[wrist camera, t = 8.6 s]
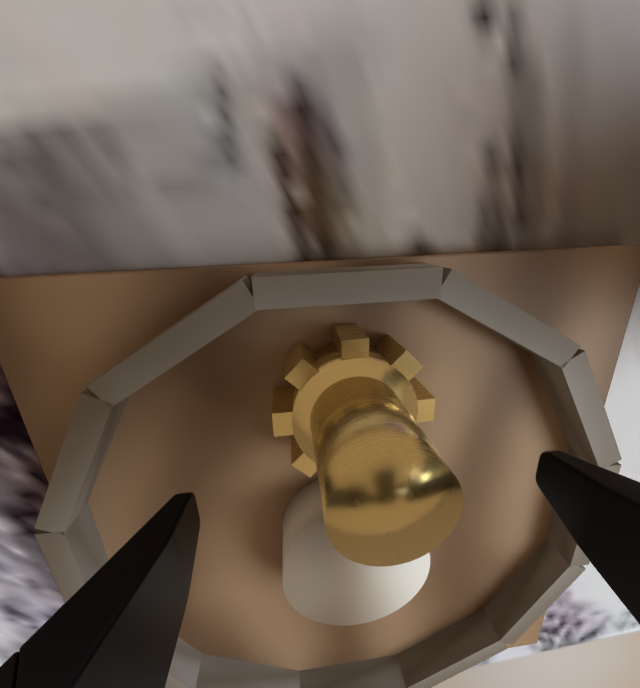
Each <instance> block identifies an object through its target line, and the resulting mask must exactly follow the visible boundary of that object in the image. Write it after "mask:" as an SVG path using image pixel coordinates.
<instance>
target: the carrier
mask: <svg viewBox="0 0 640 688" xmlns="http://www.w3.org/2000/svg"><path fill="white" fill-rule="evenodd" d="M639 282H640V245H610V246H591V247H571V248H552V249H532V250H513V251H494V252H474V253H455V254H435V255H416V256H397V257H377V258H358V259H338V260H319V261H300V262H280V263H261V264H241V265H222V266H203V267H183V268H164V269H144V270H125V271H105V272H86V273H67V274H47V275H28V276H8V277H0V364H1V366H2V369H3V371H4V374H5V376H6V379H7V381H8V384H9V386H10V389H11V391H12V394H13V396H14V399H15V401H16V404H17V406H18V409H19V411H20V414H21V416H22V419H23V421H24V424H25V426H26V429H27V431H28V434H29V436H30V439H31V441H32V444H33V446H34V449H35V451H36V454H37V456H38V459H39V461H40V464H41V466H42V469H43V471H44V474H45V476H46V479H47V481H48V484H49V486H48V489H47V492H46V495H45V498H44V501H43V504H42V507H41V510H40V512H39V515H38V518H37V521H36V524H35V527H34V528H35V529H39V530H38V531H37V532H36V534H35V537H36V539H37V541H38V544H39V546H40V548H41V550H42V552H43V555H44V557H45V559H46V561H47V564H48V566H49V568H50V570H51V573H52V575H53V577H54V579H55V581H56V584H57V586H58V588H59V590H60V593H61V595H62V597H63V599H64V601H65V603H66V602H67V601H68V600H69V599H70V598H71V597H72V596H73V595H74V594H75V593H76V592H77V591H78V590H79V589H80V588H81V587H82V586H83V585H84V584H85V583H86V582H87V581H88V580H89V579H90V578H91V577H92V576H93V575H94V574H95V573H96V572H97V571H98V570H99V569H100V568H101V567H102V566H103V565H104V564H105V563H106V562H107V561H108V560H109V559H110V558H111V557H112V556H113V555H114V554H115V553H116V552H117V551H118V550H119V549H120V548H121V547H122V546H123V545H124V544H125V543H126V542H127V541H128V540H129V539H130V538H131V537H132V536H133V535H134V534H135V533H136V532H137V531H138V530H139V529H140V528H141V527H142V526H143V525H144V524H145V523H146V522H147V521H149V520H150V519H151V518H152V517H153V516H154V515H155V514H156V513H157V512H158V511H159V510H160V509H161V508H162V507H163V506H164V505H165V504H166V503H167V502H168V501H169V500H170V499H171V498H172V497H173V496H174V495H175V494H178V493H186V492H192V493H194V495H195V497H196V502H197V507H198V511H199V516H200V530H199V536H198V542H197V549H196V555H195V561H194V567H193V573H192V579H191V585H190V591H189V596H188V601H187V605H186V610H185V614H184V617H183V621H182V625H181V629H180V632H179V636H178V640H177V644H176V648H175V651H174V655H173V659H172V663H171V666H170V670H169V674H168V678H167V682H166V685H165V688H431V687H433V686H435V685H437V684H439V683H441V682H443V681H444V680H447V679H449V678H450V677H453V676H454V675H456V674H458V673H460V672H462V671H464V670H466V669H468V668H470V667H472V666H474V665H476V664H478V663H480V662H482V661H484V660H486V659H488V658H490V657H492V656H494V655H496V654H498V653H500V652H502V651H504V650H506V649H508V648H511V647H516V646H522V645H528V644H534V643H537V640H538V636H539V633H540V629H541V626H542V622H543V619H544V615H545V612H546V610H547V609H548V608H549V607H550V606H551V605H552V604H553V602H554V601H555V600H556V599H557V598H558V597H559V596H560V595H561V594H562V593H563V592H564V591H565V590H566V589H567V588H568V587H569V586H570V585H571V584H572V583H573V582H574V581H575V580H576V579H577V578H578V577H579V575H580V574H581V573H582V572H583V571H584V570H585V568H584V566H583V565H588V564H589V562H590V560H589V559H588V558H587V557H586V555H585V554H584V553H583V551H582V550H581V549H580V547H579V546H578V545H577V543H576V542H575V541H574V539H573V538H572V536H571V535H570V533H569V532H568V530H567V529H566V527H565V526H564V524H563V523H562V521H561V520H560V518H559V517H558V515H557V514H556V512H555V511H554V509H553V508H552V506H551V505H550V503H549V502H548V500H547V499H546V497H545V496H544V494H543V493H542V491H541V490H540V488H539V487H538V485H537V483H536V478H535V476H536V471H537V466H538V462H539V457H540V455H541V453H542V452H545V451H554V450H558V451H562V452H564V453H567V454H569V455H572V456H575V457H577V458H580V459H582V460H585V461H587V462H590V463H592V464H595V465H597V466H600V467H602V468H605V469H607V470H610V471H612V472H615V473H617V474H618V473H619V470H620V467H621V464H619V463H618V462H617V461H619V460H621V456H620V453H619V450H618V447H617V444H616V441H615V438H614V435H613V432H612V429H611V426H610V423H609V420H608V417H607V414H606V411H605V408H604V405H605V402H606V398H607V395H608V391H609V388H610V384H611V381H612V377H613V374H614V370H615V367H616V363H617V360H618V356H619V353H620V349H621V346H622V342H623V339H624V335H625V332H626V328H627V325H628V321H629V318H630V314H631V311H632V307H633V304H634V300H635V297H636V293H637V289H638V286H639ZM346 324H357V325H358V326H359V327H360V328H361V329H362V330H363V332H364V333H365V334H366V335H367V336H368V337H369V344H370V345H373V346H374V347H377V346H378V345H379V344H380V343H381V342H382V341H383V340H384V339H385V338H386V337H387V336H388V335H390V336H391V337H392V338H393V339H394V340H395V341H397V342H398V343H399V344H400V345H401V346H402V347H403V348H404V349H405V350H406V351H407V352H409V353H410V354H411V355H412V356H413V357H414V358H415V359H416V360H417V361H418V362H419V363H420V364H421V365H422V366H423V368H422V369H421V370H420V371H419V372H418V373H417V374H416V375H415V376H414V377H416V378H417V379H418V381H419V382H420V383H421V384H422V385H423V386H424V387H425V388H426V389H427V390H428V391H429V392H430V393H431V394H432V395H433V396H434V397H435V398H436V399H435V411H434V421H427V422H417V424H418V425H419V427H420V428H421V429H422V431H423V432H424V434H425V435H426V436H427V438H428V439H429V440H430V442H431V443H432V445H433V446H434V447H435V449H436V450H437V452H438V453H439V454H440V456H441V457H442V458H443V460H444V461H445V463H446V464H447V465H448V467H449V468H450V470H451V471H452V472H453V474H454V475H455V476H456V478H457V479H458V481H459V483H460V486H461V489H462V493H463V507H462V512H461V515H460V518H459V520H458V522H457V524H456V526H455V528H454V529H453V531H452V532H451V534H450V535H449V536H448V537H447V538H446V539H445V540H444V541H443V542H442V543H441V544H440V545H439V546H437V547H436V548H435V549H434V550H432V551H431V552H429V553H427V554H426V555H424V556H422V557H420V558H418V559H415V560H413V561H410V562H407V563H404V564H399V565H394V566H385V567H376V566H367V565H363V564H359V563H356V562H353V561H351V560H349V559H347V558H346V557H344V556H343V555H341V554H340V553H339V552H338V551H337V550H336V549H335V548H334V547H333V545H332V544H331V542H330V541H329V539H328V536H327V533H326V529H325V523H324V516H323V509H322V502H321V495H320V489H319V482H318V475H317V471H316V472H315V473H314V474H313V475H312V476H311V477H309V476H307V475H306V474H304V473H303V472H301V471H300V470H298V469H297V468H295V467H294V466H292V464H291V439H290V435H287V436H277V437H274V431H273V421H272V401H273V389H284V388H291V385H292V384H291V383H290V382H288V381H287V380H286V379H284V358H285V357H286V356H287V355H288V354H289V352H290V351H291V350H292V349H293V348H294V347H295V346H296V345H297V344H298V343H299V342H302V343H303V344H304V345H305V346H307V347H308V348H309V349H310V350H311V351H313V352H314V351H315V350H317V349H319V348H320V347H322V346H325V345H327V344H330V343H333V325H346Z"/></svg>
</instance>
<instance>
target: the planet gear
mask: <svg viewBox="0 0 640 688" xmlns="http://www.w3.org/2000/svg"><path fill="white" fill-rule="evenodd" d="M422 368H423V366H422V365H421V364H420V363H419V362H418V361H417V360H416V359H415V358H414V357H413V356H412V355H411V354H410V353H409V352H407V351H406V350H405V349H404V348H403V347H402V346H401V345H400V344H399V343H398V342H397V341H395V340H394V339H393V338H392V337H391V336H390V335H388V336H387V337H386V338H385V339H384V340H383V341H382V342H381V343H380V344H379V345H378V346H377V347H374V346H373V345H370V344H369V337H368V336H367V335H366V334H365V333H364V332H363V330H362V329H361V328H360V327H359V326H358V325H357V324H346V325H333V343H330V344H327V345H325V346H322V347H320V348H319V349H317V350H315V351H314V352H313V351H311V350H310V349H309V348H308V347H307V346H305V345H304V344H303V343H302V342H299V343H298V344H297V345H296V346H295V347H294V348H293V349H292V350H291V351H290V352H289V354H288V355H287V356H286V357H285V358H284V379H286V380H287V381H288V382H290V383H291V384H292V385H291V388H284V389H273V401H272V421H273V431H274V437H277V436H287V435H290V439H291V464H292V466H294V467H295V468H297V469H298V470H300V471H301V472H303V473H304V474H306V475H307V476H309V477H311V476H312V475H313V474H314V473H315V472H316V471H317V475H318V482H319V489H320V495H321V502H322V509H323V516H324V523H325V529H326V533H327V536H328V539H329V541H330V542H331V544H332V545H333V547H334V548H335V549H336V550H337V551H338V552H339V553H340V554H341V555H343V556H344V557H346V558H347V559H349V560H351V561H353V562H356V563H359V564H363V565H367V566H376V567H385V566H394V565H399V564H404V563H407V562H410V561H413V560H415V559H418V558H420V557H422V556H424V555H426V554H427V553H429V552H431V551H432V550H434V549H435V548H436V547H437V546H439V545H440V544H441V543H442V542H443V541H444V540H445V539H446V538H447V537H448V536H449V535H450V534H451V532H452V531H453V529H454V528H455V526H456V524H457V522H458V520H459V518H460V515H461V512H462V507H463V493H462V489H461V486H460V483H459V481H458V479H457V478H456V476H455V475H454V474H453V472H452V471H451V470H450V468H449V467H448V465H447V464H446V463H445V461H444V460H443V458H442V457H441V456H440V454H439V453H438V452H437V450H436V449H435V447H434V446H433V445H432V443H431V442H430V440H429V439H428V438H427V436H426V435H425V434H424V432H423V431H422V429H421V428H420V427H419V425H418V424H417V422H427V421H434V411H435V399H436V398H435V397H434V396H433V395H432V394H431V393H430V392H429V391H428V390H427V389H426V388H425V387H424V386H423V385H422V384H421V383H420V382H419V381H418V379H417V378H416V377H414V376H415V375H416V374H417V373H418V372H419V371H420V370H421V369H422Z"/></svg>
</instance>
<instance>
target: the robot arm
mask: <svg viewBox="0 0 640 688" xmlns="http://www.w3.org/2000/svg"><path fill="white" fill-rule="evenodd" d="M535 478H536V483H537V485H538V487H539V488H540V490H541V491H542V493H543V494H544V496H545V497H546V499H547V500H548V502H549V503H550V505H551V506H552V508H553V509H554V511H555V512H556V514H557V515H558V517H559V518H560V520H561V521H562V523H563V524H564V526H565V527H566V529H567V530H568V532H569V533H570V535H571V536H572V538H573V539H574V541H575V542H576V543H577V545H578V546H579V547H580V549H581V550H582V551H583V553H584V554H585V555H586V557H587V558H588V559H589V560H590V562H591V563H592V564H593V566H594V567H595V568H596V569H597V571H598V572H599V573H600V574H601V576H602V577H603V578H604V580H605V581H606V582H607V583H608V585H609V586H610V587H611V588H612V590H613V591H614V592H615V594H616V595H617V596H618V597H619V599H620V600H621V601H622V602H623V604H624V605H625V606H626V607H627V609H628V610H629V611H630V613H631V614H632V615H633V616H634V618H635V619H636V620H637V621H638V623H639V624H640V482H637V481H635V480H632V479H630V478H627V477H625V476H622V475H620V474H617V473H615V472H612V471H610V470H607V469H605V468H602V467H600V466H597V465H595V464H592V463H590V462H587V461H585V460H582V459H580V458H577V457H575V456H572V455H569V454H567V453H564V452H562V451H558V450H554V451H545V452H542V453H541V455H540V457H539V462H538V466H537V471H536V476H535ZM199 530H200V516H199V511H198V507H197V502H196V497H195V495H194V493H192V492H186V493H178V494H175V495H174V496H173V497H172V498H171V499H170V500H169V501H168V502H167V503H166V504H165V505H164V506H163V507H162V508H161V509H160V510H159V511H158V512H157V513H156V514H155V515H154V516H153V517H152V518H151V519H150V520H149V521H147V522H146V523H145V524H144V525H143V526H142V527H141V528H140V529H139V530H138V531H137V532H136V533H135V534H134V535H133V536H132V537H131V538H130V539H129V540H128V541H127V542H126V543H125V544H124V545H123V546H122V547H121V548H120V549H119V550H118V551H117V552H116V553H115V554H114V555H113V556H112V557H111V558H110V559H109V560H108V561H107V562H106V563H105V564H104V565H103V566H102V567H101V568H100V569H99V570H98V571H97V572H96V573H95V574H94V575H93V576H92V577H91V578H90V579H89V580H88V581H87V582H86V583H85V584H84V585H83V586H82V587H81V588H80V589H79V590H78V591H77V592H76V593H75V594H74V595H73V596H72V597H71V598H70V599H69V600H68V601H67V602H66V603H65V604H64V605H63V606H62V607H61V608H60V609H59V610H58V611H57V612H56V613H55V614H54V615H53V616H52V617H51V618H50V619H49V620H48V621H47V622H46V623H45V624H44V625H43V626H41V627H40V628H39V629H38V630H37V631H36V632H35V633H34V634H33V635H32V636H31V637H30V638H29V639H28V640H27V641H26V642H25V643H24V644H23V645H22V646H21V648H20V651H19V652H16V653H14V654H13V655H12V656H11V657H10V658H9V659H8V660H7V661H6V662H5V663H4V664H3V665H2V666H1V667H0V688H165V685H166V682H167V678H168V674H169V670H170V666H171V663H172V659H173V655H174V651H175V648H176V644H177V640H178V636H179V632H180V629H181V625H182V621H183V617H184V614H185V610H186V605H187V601H188V596H189V591H190V585H191V579H192V573H193V567H194V561H195V555H196V549H197V542H198V536H199Z"/></svg>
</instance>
